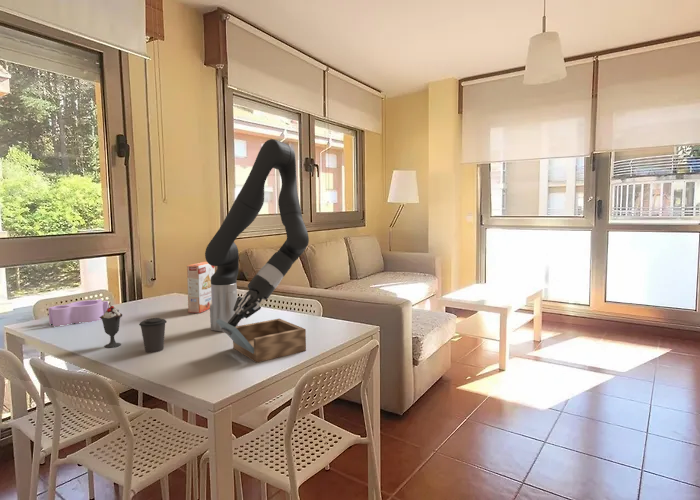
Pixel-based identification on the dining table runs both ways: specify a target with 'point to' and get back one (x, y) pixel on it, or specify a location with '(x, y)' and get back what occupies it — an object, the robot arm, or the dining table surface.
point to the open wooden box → (272, 339)
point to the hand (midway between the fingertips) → (230, 326)
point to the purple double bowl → (77, 312)
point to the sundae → (111, 325)
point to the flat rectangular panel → (235, 335)
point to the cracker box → (199, 286)
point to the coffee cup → (153, 334)
